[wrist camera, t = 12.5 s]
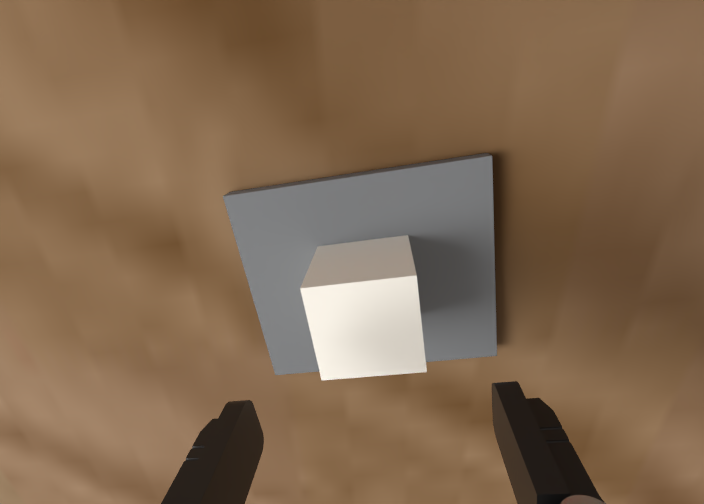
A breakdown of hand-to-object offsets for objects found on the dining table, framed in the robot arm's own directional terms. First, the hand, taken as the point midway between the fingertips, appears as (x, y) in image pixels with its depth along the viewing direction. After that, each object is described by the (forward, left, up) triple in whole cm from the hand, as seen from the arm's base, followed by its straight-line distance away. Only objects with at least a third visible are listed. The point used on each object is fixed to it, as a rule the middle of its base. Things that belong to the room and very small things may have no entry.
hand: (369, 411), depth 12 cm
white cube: (0, 0, -10) cm, 10 cm away
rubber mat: (0, 0, -11) cm, 11 cm away
